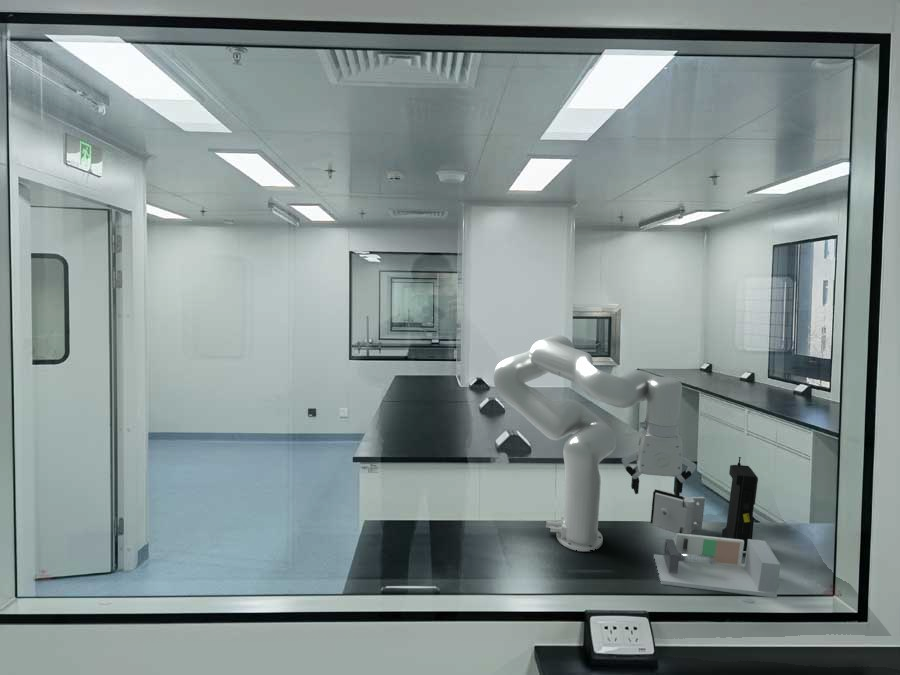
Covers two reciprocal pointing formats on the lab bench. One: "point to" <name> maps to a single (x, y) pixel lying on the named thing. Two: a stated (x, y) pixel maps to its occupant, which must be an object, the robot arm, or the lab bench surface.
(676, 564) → the plunger
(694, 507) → the hinge
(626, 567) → the lab bench surface
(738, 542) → the stand
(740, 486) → the portable radio
